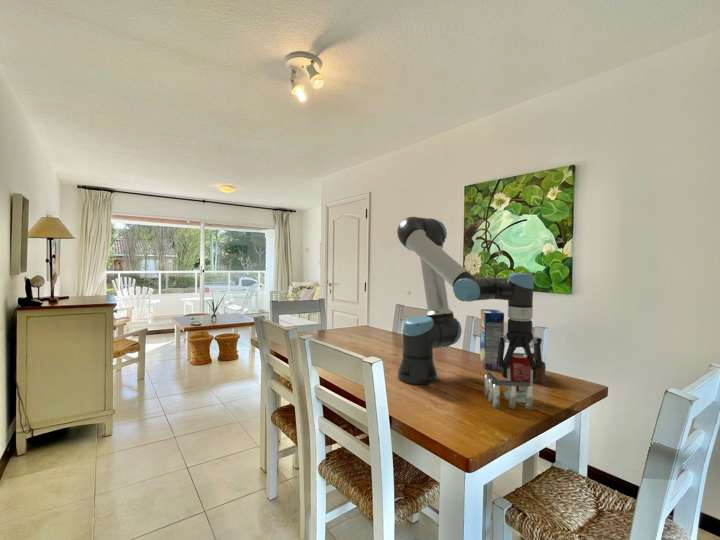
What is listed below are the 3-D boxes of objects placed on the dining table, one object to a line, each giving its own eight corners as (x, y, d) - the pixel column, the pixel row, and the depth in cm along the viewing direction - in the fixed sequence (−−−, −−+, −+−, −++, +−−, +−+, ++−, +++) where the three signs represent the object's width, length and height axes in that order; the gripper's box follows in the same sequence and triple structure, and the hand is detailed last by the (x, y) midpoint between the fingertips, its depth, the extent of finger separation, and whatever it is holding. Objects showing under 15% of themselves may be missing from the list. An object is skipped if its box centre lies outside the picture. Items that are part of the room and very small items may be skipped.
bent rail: (493, 408, 111) (494, 381, 111) (483, 394, 122) (484, 371, 122) (533, 409, 110) (533, 383, 110) (519, 396, 121) (520, 372, 121)
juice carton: (479, 361, 163) (480, 309, 162) (496, 362, 162) (497, 309, 161) (484, 369, 151) (485, 312, 151) (503, 370, 150) (504, 313, 149)
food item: (517, 371, 149) (517, 348, 149) (537, 372, 147) (538, 349, 147) (526, 382, 135) (527, 356, 135) (549, 383, 134) (549, 357, 134)
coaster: (509, 402, 115) (509, 400, 115) (500, 392, 124) (500, 390, 124) (537, 403, 115) (538, 401, 115) (526, 393, 124) (526, 390, 124)
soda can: (533, 394, 116) (533, 357, 116) (512, 394, 116) (513, 357, 116) (524, 387, 123) (524, 352, 123) (504, 386, 123) (505, 352, 123)
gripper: (493, 320, 116) (491, 390, 116) (555, 321, 115) (553, 392, 115) (486, 316, 123) (485, 382, 124) (545, 318, 122) (543, 384, 123)
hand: (518, 387), depth 120 cm, fingers closed on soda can, 7 cm apart
